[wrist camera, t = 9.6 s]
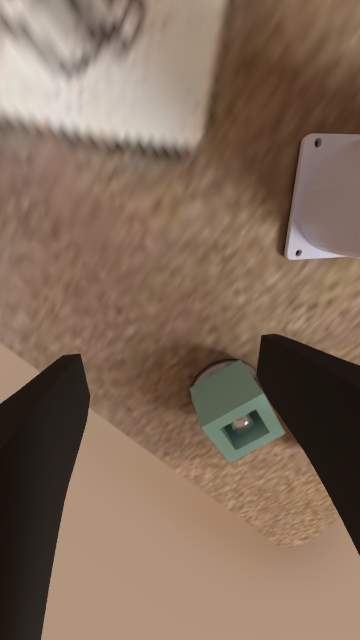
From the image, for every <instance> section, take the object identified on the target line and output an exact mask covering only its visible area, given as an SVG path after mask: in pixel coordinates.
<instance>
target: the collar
mask: <svg viewBox="0 0 360 640" xmlns="http://www.w3.org/2000/svg"><path fill="white" fill-rule="evenodd" d="M189 389H190V392H191V396H192V399H193V403H194V406H195V409H196V413H197V416H198V420H199V423H200V427H201V429H202V430H203V431H204V432H205V434H206V435H207V436H208V437H209V439H210V440H211V441H212V442H213V444H214V445H215V446H216V447H217V448H218V450H219V451H220V452H221V453H222V455H223V456H224V457H225V458H226V460H227V461H228V462H229V463H232V462H233V461H235V460H237V459H239V458H241V457H243V456H245V455H247V454H248V453H250V452H252V451H254V450H256V449H258V448H260V447H262V446H263V445H265V444H267V443H269V442H271V441H273V440H275V439H277V438H279V437H280V436H282V435H284V434H286V433H285V431H284V429H283V427H282V426H281V424H280V422H279V420H278V418H277V416H276V415H275V413H274V411H273V409H272V407H271V406H270V404H269V402H268V400H267V398H266V396H265V395H264V393H263V391H262V390H261V389H260V387H259V386H258V384H257V383H256V381H255V380H254V379H253V377H252V376H251V374H250V373H249V371H248V370H247V369H246V367H245V366H244V364H243V363H242V361H241V360H239V361H237V362H235V363H233V364H232V365H230V366H228V367H226V368H225V369H223V370H221V371H219V372H217V373H216V374H214V375H212V376H210V377H209V378H207V379H205V380H203V381H202V382H200V383H198V384H196V385H195V386H193V387H191V388H189ZM248 413H249V415H250V417H251V418H252V420H253V426H252V428H251V429H250V430H249V431H247V432H245V433H236V432H234V431H233V429H232V427H231V424H230V423H232V422H234V421H235V420H237V419H239V418H241V417H243V416H245V415H246V414H248Z"/></svg>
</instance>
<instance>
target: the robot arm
mask: <svg viewBox="0 0 360 640" xmlns="http://www.w3.org/2000/svg"><path fill="white" fill-rule="evenodd" d="M315 140H317V141H318V145H317V147H315ZM297 250H299V253H298V255H296V251H297ZM284 256H285V258H286V259H289V260H298V259H316V258H333V257H352V258H357V259H360V134H316V133H312V134H309V135H307V136H305V137H304V138H303V140H302V142H301V146H300V153H299V160H298V166H297V173H296V179H295V186H294V192H293V199H292V205H291V212H290V218H289V225H288V232H287V238H286V245H285V251H284ZM256 376H257V378H258V380H259V382H260V384H261V387H262V389H263V390H264V392H265V394H266V396H267V398H268V399H269V401H270V402H271V404H272V405H273V407H274V408H275V410H276V411H277V412H278V414H279V415H280V417H281V418H282V420H283V421H284V423H285V424H286V425H287V427H288V428H289V430H290V431H291V433H292V434H293V436H294V437H295V438H296V440H297V441H298V443H299V444H300V446H301V447H302V449H303V450H304V452H305V453H306V455H307V457H308V458H309V460H310V462H311V464H312V465H313V467H314V469H315V471H316V472H317V474H318V476H319V478H320V479H321V481H322V483H323V485H324V487H325V489H326V490H327V492H328V494H329V496H330V498H331V500H332V502H333V504H334V506H335V507H336V509H337V511H338V513H339V515H340V517H341V519H342V521H343V523H344V525H345V527H346V529H347V531H348V533H349V535H350V537H351V539H352V541H353V543H354V545H355V547H356V549H357V551H358V553H359V555H360V366H359V365H357V364H354V363H351V362H348V361H346V360H343V359H340V358H338V357H335V356H332V355H330V354H327V353H325V352H322V351H320V350H317V349H315V348H312V347H310V346H307V345H305V344H303V343H300V342H298V341H295V340H292V339H290V338H287V337H284V336H281V335H278V334H269V335H262V336H261V344H260V351H259V359H258V366H257V374H256ZM89 402H90V393H89V389H88V384H87V380H86V376H85V371H84V367H83V363H82V358H81V354H72V355H63V356H62V357H60V358H59V359H57V360H56V361H55V362H53V363H52V364H51V365H50V366H48V367H47V368H46V369H45V370H43V371H42V372H41V373H40V374H39V375H37V376H36V377H35V378H34V379H32V380H31V381H30V382H29V383H27V384H26V385H25V386H23V387H22V388H21V389H20V390H18V391H17V392H16V393H15V394H13V395H12V396H10V397H9V398H8V399H6V400H5V401H3V402H2V403H1V404H0V640H41V635H42V628H43V622H44V615H45V609H46V603H47V597H48V589H49V584H50V578H51V572H52V566H53V561H54V555H55V549H56V543H57V538H58V532H59V527H60V522H61V517H62V511H63V506H64V501H65V497H66V493H67V488H68V485H69V481H70V478H71V474H72V471H73V467H74V464H75V460H76V457H77V454H78V450H79V446H80V443H81V440H82V436H83V433H84V429H85V425H86V421H87V416H88V409H89Z"/></svg>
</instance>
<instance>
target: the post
mask: <svg viewBox="0 0 360 640" xmlns="http://www.w3.org/2000/svg"><path fill="white" fill-rule="evenodd" d="M237 361H239V360H237V359H226V360H221V361H218V362H215V363H213V364H211V365H209V366H207V367H206V368H204V369H203V370H202V371H201V372H200V373H199V374H198V375H197V377H196V378H195V380H194V381H193V383H192V386H191V387H193V386H195V385H196V384H198V383H200V382H202V381H203V380H205V379H207V378H209V377H210V376H212V375H214V374H216V373H217V372H219V371H221V370H223V369H225V368H226V367H228V366H230V365H232V364H233V363H235V362H237ZM242 363H243V364H244V366H245V367H246V369H247V370H248V371H249V373H250V374H251V376H252V377H253V379H254V380H255V381H256V383H257V384H258V386H259V387H260V389H261V384H260V382H259V380H258V378H257V376H256V374H257V372H256V371H255V369H254V368H253V367H252V366H251V365H250V364H248V363H246V362H244V361H242ZM190 395H191V392H190ZM191 400H192V404H193V406H194V403H193V399H192V396H191ZM194 408H195V406H194ZM195 410H196V409H195ZM230 424H231V427H232V429H233V431H234V432H236V433H245V432H247V431H249V430H250V429H251V428H252V426H253V420H252V418H251V417H250V415H249V413H248V414H246V415H245V416H243V417H241V418H239V419H237V420H235V421H234V422H232V423H230Z"/></svg>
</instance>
